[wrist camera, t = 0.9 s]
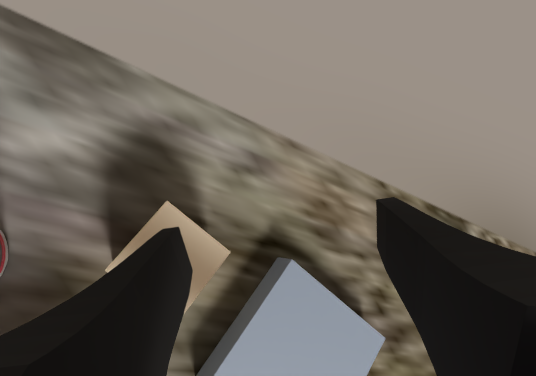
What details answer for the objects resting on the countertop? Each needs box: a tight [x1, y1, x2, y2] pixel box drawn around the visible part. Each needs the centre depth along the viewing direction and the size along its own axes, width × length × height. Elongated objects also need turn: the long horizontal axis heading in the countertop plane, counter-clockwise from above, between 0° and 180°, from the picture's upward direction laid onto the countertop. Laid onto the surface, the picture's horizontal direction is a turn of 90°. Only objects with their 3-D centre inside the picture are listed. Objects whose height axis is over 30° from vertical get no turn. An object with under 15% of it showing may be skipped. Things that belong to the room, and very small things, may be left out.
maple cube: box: [105, 201, 230, 315], centre depth 20 cm, size 4×4×6 cm
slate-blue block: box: [196, 257, 385, 376], centre depth 24 cm, size 10×10×3 cm
